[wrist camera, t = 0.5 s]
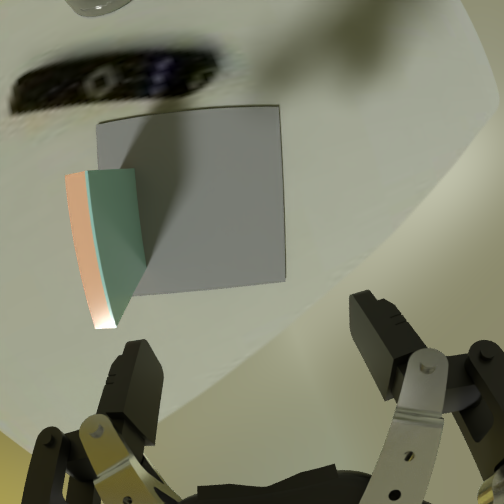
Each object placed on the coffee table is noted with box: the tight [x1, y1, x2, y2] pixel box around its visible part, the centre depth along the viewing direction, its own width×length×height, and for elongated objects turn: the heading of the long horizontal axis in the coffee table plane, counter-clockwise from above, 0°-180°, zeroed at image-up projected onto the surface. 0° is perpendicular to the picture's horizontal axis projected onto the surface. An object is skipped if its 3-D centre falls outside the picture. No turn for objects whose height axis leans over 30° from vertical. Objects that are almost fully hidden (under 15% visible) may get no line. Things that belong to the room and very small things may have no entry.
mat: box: [96, 107, 285, 296], centre depth 28 cm, size 18×18×1 cm
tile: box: [65, 168, 147, 329], centre depth 22 cm, size 10×2×12 cm, turn 3°
